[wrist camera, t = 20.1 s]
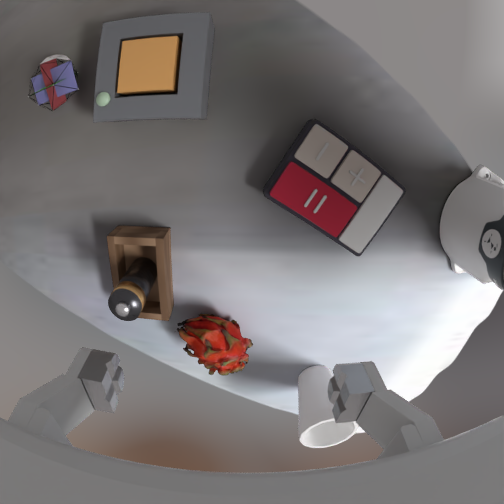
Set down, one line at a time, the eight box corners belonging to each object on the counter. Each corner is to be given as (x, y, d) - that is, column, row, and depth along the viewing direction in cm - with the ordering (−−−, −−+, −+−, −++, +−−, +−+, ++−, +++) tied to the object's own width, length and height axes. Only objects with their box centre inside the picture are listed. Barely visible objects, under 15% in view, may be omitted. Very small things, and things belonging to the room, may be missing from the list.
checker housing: (214, 28, 28) (210, 11, 22) (206, 119, 33) (199, 118, 27) (121, 35, 27) (101, 22, 22) (114, 121, 32) (91, 122, 26)
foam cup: (339, 353, 49) (360, 410, 37) (340, 385, 52) (357, 438, 41) (285, 366, 49) (296, 426, 37) (292, 396, 53) (302, 452, 41)
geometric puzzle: (82, 113, 30) (52, 73, 22) (41, 128, 29) (9, 94, 22) (93, 76, 31) (70, 37, 23) (54, 90, 31) (29, 56, 23)
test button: (182, 43, 26) (177, 36, 23) (178, 92, 28) (172, 89, 26) (131, 47, 26) (122, 41, 23) (127, 95, 28) (117, 93, 25)
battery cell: (157, 257, 39) (136, 296, 30) (159, 284, 41) (141, 327, 32) (129, 255, 39) (102, 293, 30) (132, 282, 40) (108, 323, 31)
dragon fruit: (248, 344, 49) (188, 303, 47) (274, 335, 42) (205, 286, 40) (224, 387, 44) (160, 345, 42) (248, 387, 37) (171, 337, 35)
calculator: (315, 116, 30) (410, 191, 33) (308, 118, 34) (395, 185, 37) (262, 196, 34) (361, 260, 37) (261, 189, 38) (351, 248, 41)
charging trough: (170, 227, 38) (163, 238, 35) (173, 304, 43) (168, 320, 39) (118, 225, 38) (106, 236, 34) (126, 300, 43) (118, 315, 39)
